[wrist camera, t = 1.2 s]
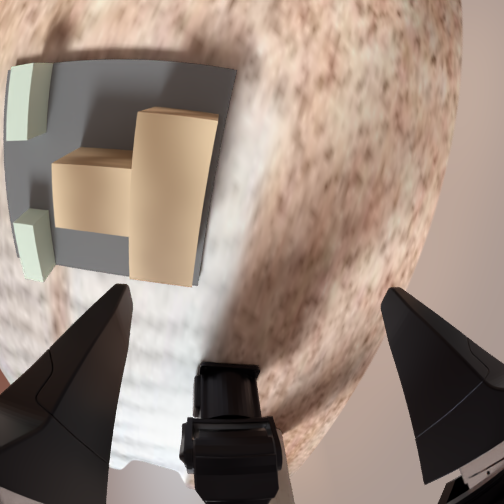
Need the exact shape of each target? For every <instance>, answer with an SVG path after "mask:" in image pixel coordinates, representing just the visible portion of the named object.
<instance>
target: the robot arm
mask: <svg viewBox="0 0 504 504" xmlns="http://www.w3.org/2000/svg"><path fill="white" fill-rule="evenodd" d="M132 312H133V302H132V298H131V293H130V288H129V286H128V285H127V284H115V285H114V286H113V287H112V288H111V289H109V290H108V291H107V292H106V293H105V294H104V295H103V296H102V297H101V298H100V299H99V300H98V301H97V302H96V303H94V304H93V305H92V306H91V307H90V308H89V309H88V310H87V311H86V312H85V313H84V314H83V315H82V316H81V317H80V318H79V319H78V320H77V321H76V322H75V323H74V324H73V325H72V326H71V327H70V328H69V329H68V330H67V331H66V332H65V333H64V334H63V335H62V336H61V337H60V338H59V339H58V340H57V341H56V342H55V343H54V344H53V345H52V346H51V347H50V348H49V349H50V350H49V349H48V350H47V351H46V352H45V353H44V354H43V355H42V356H41V357H40V358H39V359H38V360H37V361H36V362H35V363H34V364H33V365H32V366H31V367H30V368H29V369H28V370H27V371H26V372H25V373H24V374H22V375H21V376H20V377H19V378H18V379H17V380H16V381H15V382H14V383H12V384H11V385H10V386H9V387H8V388H7V389H6V390H5V391H4V392H3V393H1V395H0V504H106V495H107V482H108V470H109V460H110V451H111V443H112V436H113V429H114V422H115V416H116V410H117V404H118V398H119V392H120V387H121V382H122V377H123V372H124V367H125V362H126V357H127V352H128V346H129V336H130V328H131V320H132ZM381 312H382V316H383V320H384V324H385V329H386V333H387V337H388V341H389V345H390V349H391V351H392V355H393V358H394V361H395V364H396V368H397V371H398V374H399V378H400V381H401V385H402V388H403V392H404V395H405V399H406V403H407V406H408V410H409V414H410V418H411V422H412V426H413V430H414V435H415V438H416V439H415V440H416V444H417V449H418V454H419V459H420V464H421V470H422V475H423V481H424V484H425V485H426V484H428V483H431V482H433V481H435V480H437V479H439V478H441V477H443V476H445V475H447V474H449V473H451V472H453V471H455V470H457V469H459V470H460V472H461V475H460V476H459V477H457V478H455V479H453V480H452V481H450V482H448V483H447V484H446V486H445V488H444V490H443V493H442V495H441V498H440V500H439V502H438V504H504V364H503V363H502V362H500V361H499V360H497V359H496V358H495V357H493V356H491V355H490V354H489V353H488V352H486V351H485V350H483V349H482V348H481V347H479V346H478V345H477V344H475V343H474V342H473V341H472V340H470V339H469V338H468V337H466V336H465V335H464V334H462V333H461V332H460V331H459V330H457V329H456V328H455V327H453V326H452V325H451V324H449V323H448V322H447V321H445V320H444V319H443V318H441V317H440V316H439V315H438V314H436V313H435V312H433V311H432V310H431V309H429V308H428V307H426V306H425V305H424V304H422V303H421V302H420V301H418V300H417V299H415V298H414V297H413V296H411V295H410V294H409V293H407V292H406V291H404V290H403V289H402V288H400V287H391V288H389V289H388V291H387V293H386V295H385V297H384V299H383V301H382V303H381ZM259 373H260V368H259V367H258V366H247V365H230V364H216V363H201V364H200V370H199V376H197V375H196V376H195V378H194V386H193V416H194V417H197V418H193V417H188V418H187V423H184V424H182V440H181V447H180V454H179V458H180V460H181V461H182V462H183V463H184V464H185V467H186V468H187V473H188V474H194V482H195V490H196V492H197V493H198V494H199V496H200V497H201V498H202V500H203V501H204V502H205V504H269V502H270V501H271V499H272V498H275V496H276V494H277V492H278V490H279V483H278V471H280V470H281V469H282V463H283V457H282V448H281V444H280V440H279V437H278V433H277V430H276V427H275V423H274V420H273V416H267V417H261V410H260V403H259V396H258V388H257V381H256V380H257V377H258V375H259Z"/></svg>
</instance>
